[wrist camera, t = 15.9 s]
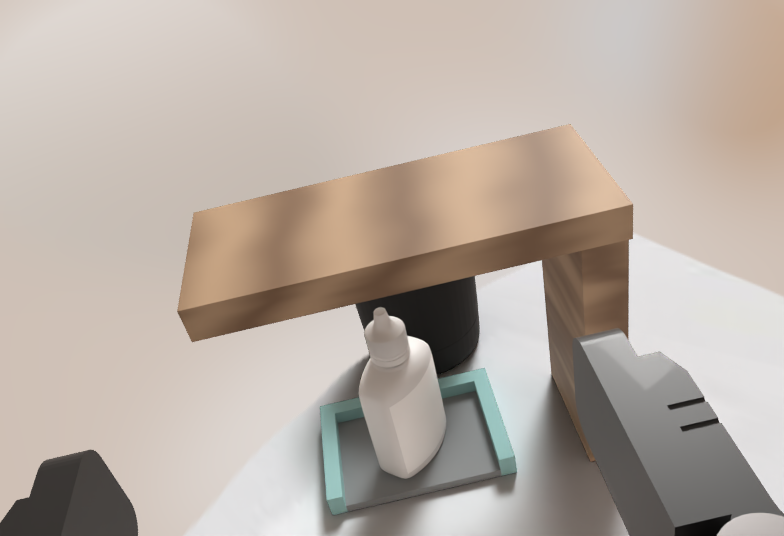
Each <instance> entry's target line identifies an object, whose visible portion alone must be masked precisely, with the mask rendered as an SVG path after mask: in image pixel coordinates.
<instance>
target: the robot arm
mask: <svg viewBox="0 0 784 536" xmlns="http://www.w3.org/2000/svg"><path fill="white" fill-rule="evenodd" d="M572 349H573V366H574V383H575V400H576V407H577V412H578V416H579V420H580V424H581V427H582V430H583V433H584V435H585V438H586V440H587V442H588V444H589V447H590V449H591V451H592V453H593V455H594V458H595V460H596V462H597V464H598V467H599V469H600V471H601V473H602V475H603V478H604V480H605V482H606V484H607V486H608V489H609V491H610V493H611V495H612V498H613V500H614V502H615V504H616V506H617V509H618V511H619V513H620V515H621V518H622V520H623V522H624V524H625V526H626V529H627V531H628V533H629V535H630V536H784V513H783V512H782V511H781V510H780V509H779V508H778V507H777V506H776V504H775V503H774V502H773V500H772V499H771V497H770V496H769V494H768V493H767V491H766V490H765V488H764V487H763V485H762V484H761V482H760V481H759V479H758V478H757V476H756V475H755V473H754V472H753V470H752V469H751V467H750V465H749V464H748V462H747V461H746V459H745V458H744V456H743V455H742V453H741V452H740V450H739V449H738V447H737V446H736V444H735V443H734V441H733V440H732V438H731V437H730V435H729V434H728V432H727V431H726V429H725V428H724V426H723V425H722V423H719V421H718V417H717V416H716V414H715V412H714V411H713V409H712V408H711V406H710V405H709V403H708V402H705V399H704V396H703V394H702V393H701V391H700V390H699V388H698V387H697V385H696V384H695V382H694V381H693V379H692V378H691V376H690V375H689V373H688V372H687V371H686V370H685V369H684V368H682V367H681V366H679V365H678V364H676V363H675V362H674V361H672V360H671V359H669V358H668V357H667V356H665V355H664V354H662V353H661V352H656V353H652V354H647V355H643V356H639V357H638V356H637V354H636V353H635V351H634V349H633V348H632V346H631V344H630V343H629V341H628V339H627V337H626V336H625V334H624V333H623V332H622V330H621V329H619V328H615V329H611V330H606V331H602V332H598V333H594V334H589V335H585V336H581V337H577V338H574V339H573V343H572ZM0 536H138V526H137V519H136V514H135V511H134V508H133V506H132V503H131V502H130V500H129V499H128V497H127V496H126V494H125V493H124V491H123V490H122V488H121V487H120V485H119V484H118V482H117V481H116V479H115V478H114V476H113V475H112V473H111V472H110V470H109V469H108V467H107V466H106V464H105V463H104V461H103V460H102V458H101V457H100V455H99V454H98V453H97V452H96V451H94V450H87V451H83V452H78V453H74V454H70V455H66V456H62V457H57V458H53V459H49V460H46V461H44V462H43V463H42V464H41V465H40V468H39V469H38V472H37V475H36V478H35V481H34V485H33V487H32V490H31V494H30V497H29V498H25V499H20V500H17V501H16V502H15V503H14V505H13V506H12V508H11V509H10V510H9V512H8V513H7V515H6V516H5V517H4V519H3V520H2V521H1V523H0Z"/></svg>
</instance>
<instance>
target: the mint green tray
mask: <svg viewBox="0 0 784 536" xmlns="http://www.w3.org/2000/svg"><path fill="white" fill-rule="evenodd" d="M438 383H439V388H440V392H441V397H442V402H443V406H444V411H445V415H446V431H445V435H444V438H443V441H442V444H441V446H440V448H439V450H438V451H437V453H436V454H435V456H434V457H433V458H432V460H431V461H430V462H429V463H428V464H427V465H426V466H425V467H424V468H423V469H422V470H420V471H419V472H418V473H417V474H415V475H414V476H412V477H410V478H407V479H404V478H400V477H397V476H395V475H392V474H390V473H387V472H385V471H384V470H382V469H381V467H380V465H379V461H378V458H377V455H376V452H375V449H374V446H373V442H372V439H371V436H370V433H369V429H368V426H367V423H366V420H365V416H364V413H363V410H362V406H361V402H360V398H359V397H358V398H354V399H350V400H345V401H341V402H337V403H332V404H328V405H324V406H320V415H321V429H322V443H323V457H324V470H325V484H326V498H327V502H328V505H329V507H330V510H331V512H332V515H336V514H340V513H345V512H349V511H353V510H357V509H362V508H366V507H370V506H375V505H379V504H383V503H387V502H392V501H396V500H400V499H405V498H409V497H413V496H417V495H422V494H426V493H430V492H435V491H439V490H443V489H447V488H452V487H456V486H460V485H465V484H469V483H473V482H477V481H482V480H486V479H490V478H494V477H499V476H503V475H507V474H512V473H516V472H517V468H516V461H515V455H514V452H513V450H512V447H511V444H510V441H509V438H508V435H507V432H506V429H505V426H504V423H503V420H502V417H501V414H500V411H499V408H498V405H497V402H496V400H495V397H494V394H493V391H492V388H491V385H490V382H489V379H488V376H487V373H486V370H485V368H482V369H478V370H473V371H469V372H465V373H461V374H456V375H452V376H448V377H443V378H439V379H438Z"/></svg>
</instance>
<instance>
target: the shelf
mask: <svg viewBox="0 0 784 536" xmlns="http://www.w3.org/2000/svg"><path fill="white" fill-rule="evenodd" d="M629 239H633V204H632V202H631V201H630V200H629V199H628V197H627V196H626V195H625V193H624V192H623V191H622V190H621V188H620V187H619V186H618V185H617V183H616V182H615V181H614V179H613V178H612V177H611V175H610V174H609V173H608V172H607V170H606V169H605V168H604V167H603V165H602V164H601V163H600V162H599V160H598V159H597V158H596V156H595V155H594V154H593V153H592V151H591V150H590V149H589V147H588V146H587V145H586V143H585V142H584V141H583V140H582V138H581V137H580V136H579V135H578V134H577V132H576V131H575V130H574V128H573V127H572V126H571V124H569V125H565V126H560V127H556V128H552V129H547V130H543V131H539V132H534V133H531V134H526V135H522V136H517V137H513V138H509V139H505V140H501V141H496V142H492V143H488V144H484V145H479V146H475V147H471V148H467V149H462V150H458V151H454V152H449V153H445V154H441V155H437V156H432V157H428V158H424V159H420V160H416V161H411V162H407V163H403V164H398V165H394V166H390V167H386V168H381V169H377V170H373V171H369V172H365V173H360V174H356V175H352V176H348V177H343V178H339V179H335V180H331V181H326V182H322V183H318V184H314V185H309V186H305V187H301V188H297V189H292V190H288V191H284V192H280V193H275V194H271V195H267V196H263V197H258V198H254V199H250V200H246V201H241V202H237V203H233V204H229V205H225V206H220V207H216V208H212V209H207V210H204V211H199V212H195V213H194V214H193V221H192V226H191V232H190V238H189V245H188V250H187V257H186V263H185V268H184V275H183V280H182V286H181V293H180V298H179V305H178V311H177V312H178V314H179V316H180V318H181V320H182V322H183V324H184V326H185V328H186V330H187V333H188V335H189V337H190V339H191V341H192V342H195V341H199V340H203V339H208V338H212V337H216V336H220V335H225V334H229V333H233V332H238V331H242V330H246V329H250V328H254V327H258V326H263V325H267V324H272V323H276V322H280V321H284V320H289V319H293V318H297V317H301V316H306V315H310V314H314V313H318V312H322V311H327V310H331V309H335V308H340V307H344V306H348V305H353V304H357V303H361V302H365V301H370V300H374V299H378V298H382V297H387V296H391V295H395V294H399V293H404V292H408V291H412V290H416V289H421V288H425V287H429V286H433V285H438V284H442V283H446V282H450V281H455V280H459V279H463V278H468V277H472V276H476V275H480V274H485V273H489V272H493V271H497V270H502V269H506V268H510V267H514V266H518V265H523V264H527V263H531V262H536V261H540V260H542V267H543V279H544V291H545V303H546V314H547V326H548V338H549V350H550V362H551V374H552V376H553V378H554V381H555V383H556V385H557V387H558V390H559V392H560V394H561V396H562V399H563V401H564V403H565V405H566V408H567V410H568V412H569V414H570V417H571V419H572V421H573V423H574V426H575V428H576V430H577V432H578V435H579V437H580V439H581V441H582V444H583V446H584V448H585V451H586V453H587V455H588V457H589V460H590V462H592V461H596V460H595V458H594V455H593V453H592V451H591V449H590V447H589V444H588V442H587V440H586V438H585V435H584V433H583V430H582V427H581V424H580V420H579V416H578V412H577V407H576V400H575V383H574V366H573V349H572V343H573V339H574V338H577V337H581V336H585V335H589V334H594V333H598V332H602V331H606V330H611V329H615V328H619V329H621V330H622V332H623V333H624V334H625V336H626V337H627V339H628V285H629Z"/></svg>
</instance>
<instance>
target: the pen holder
mask: <svg viewBox="0 0 784 536" xmlns="http://www.w3.org/2000/svg"><path fill="white" fill-rule="evenodd" d="M379 307H382V308H385V310H386V312H387V314H388V315H389V316H393V317H397V318H399V319H400V320H402V322H403V323H404V325H405V329H406V333H407V336H410V337H414V338H418V339H420V340H423V341H424V342H426V343H427V344H428V345H429V348H430V350H431V353H432V357H433V361H434V365H435V370H436V374H439V373H442V372H445V371H447V370H450V369H452V368H454V367H455V366H457V365H458V364H460V363H461V362H462V361H464V360H465V359H466V358H467V357H468V356H469V355H470V353H471V352H472V351H473V349H474V348H475V346H476V344H477V341H478V338H479V315H478V303H477V294H476V284H475V276H472V277H468V278H463V279H459V280H455V281H450V282H446V283H442V284H438V285H433V286H429V287H425V288H421V289H416V290H412V291H408V292H404V293H399V294H395V295H391V296H387V297H382V298H378V299H374V300H370V301H365V302H361V303H357V304H356V308H357V310H358V313H359V316H360V319H361V322H362V325H363V328H364V331H365V328H366V327H367V325H368V324H369V323H370V322H371V321H373V320H374V310H375V309H376V308H379Z"/></svg>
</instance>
